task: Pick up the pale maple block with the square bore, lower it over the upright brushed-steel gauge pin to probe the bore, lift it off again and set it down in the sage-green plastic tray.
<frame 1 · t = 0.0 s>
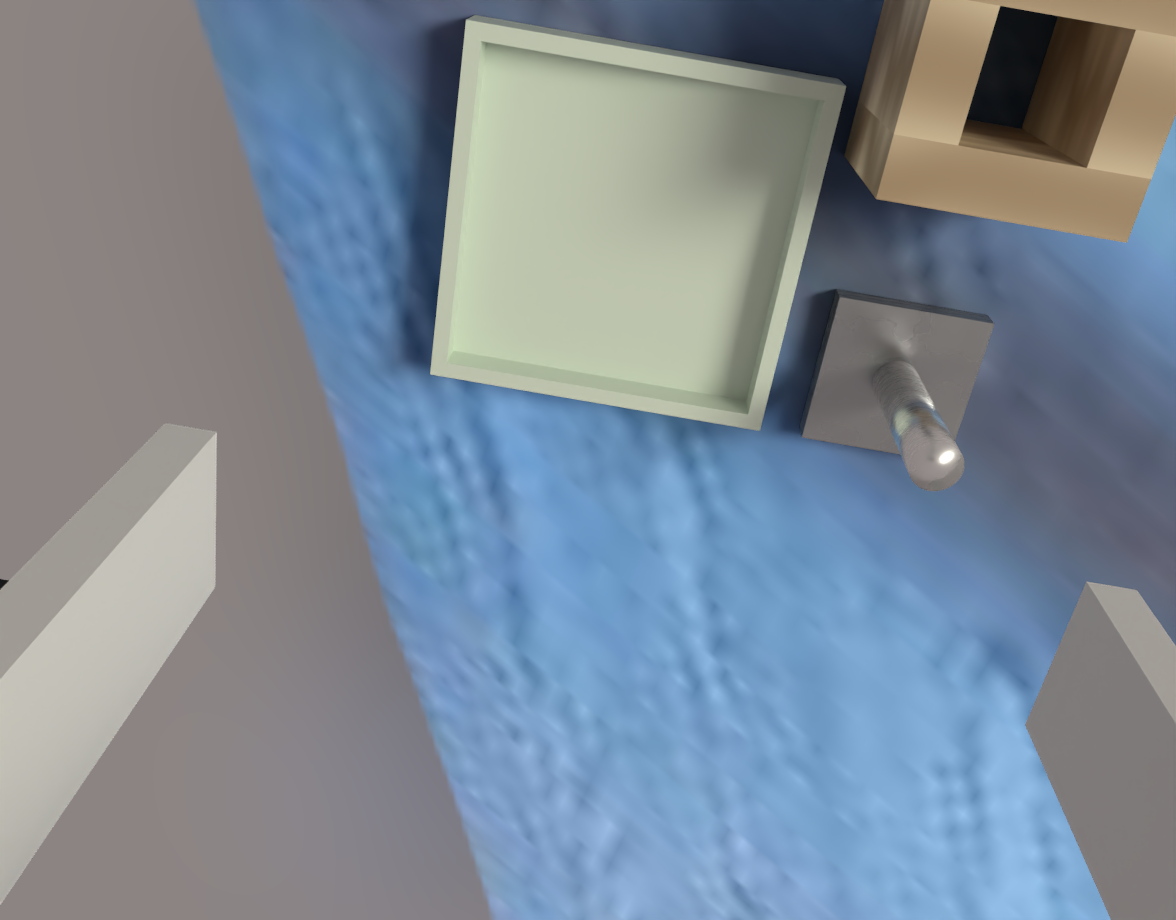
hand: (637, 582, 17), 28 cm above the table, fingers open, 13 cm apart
gauge post: (890, 372, 45), on the table
tray: (625, 226, 43), on the table
bored block: (984, 61, 39), on the table
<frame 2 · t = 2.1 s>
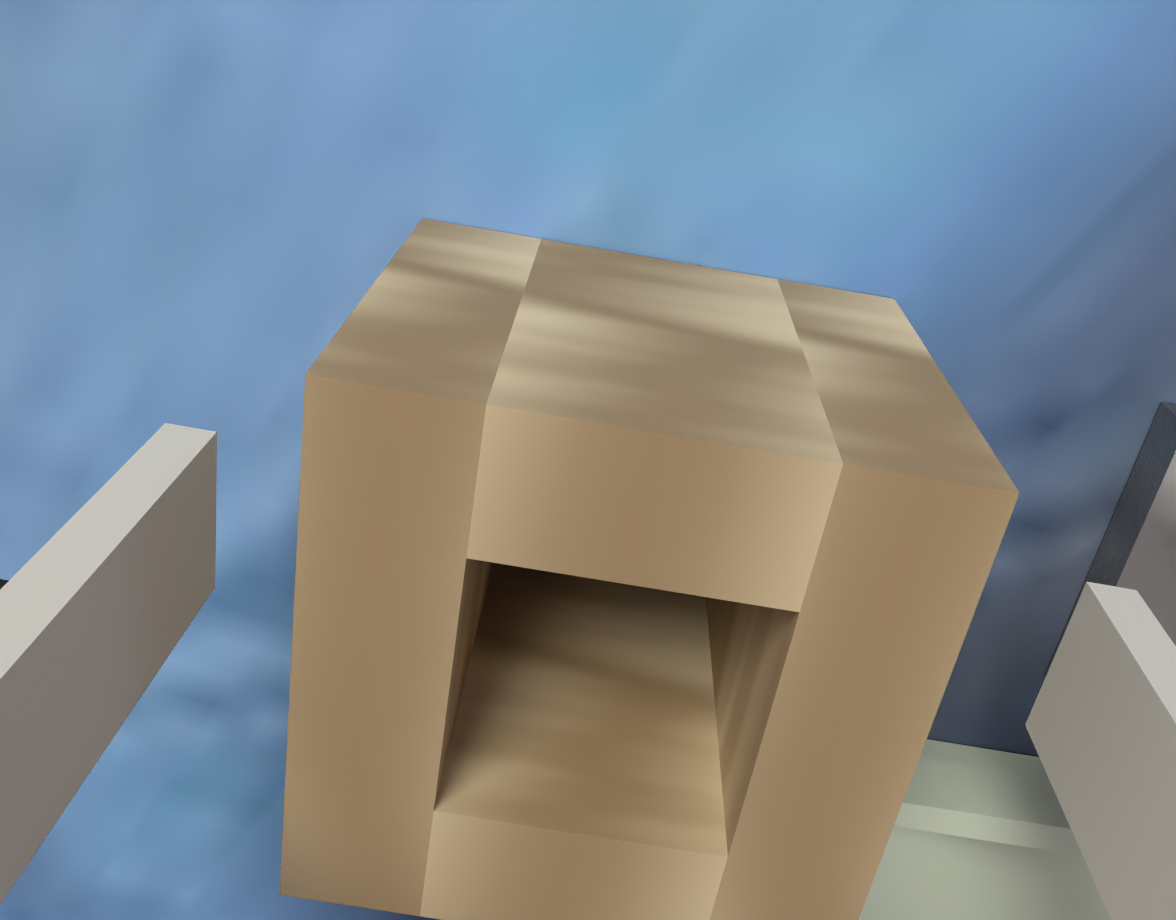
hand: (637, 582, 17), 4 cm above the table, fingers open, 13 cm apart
bored block: (618, 469, 20), on the table
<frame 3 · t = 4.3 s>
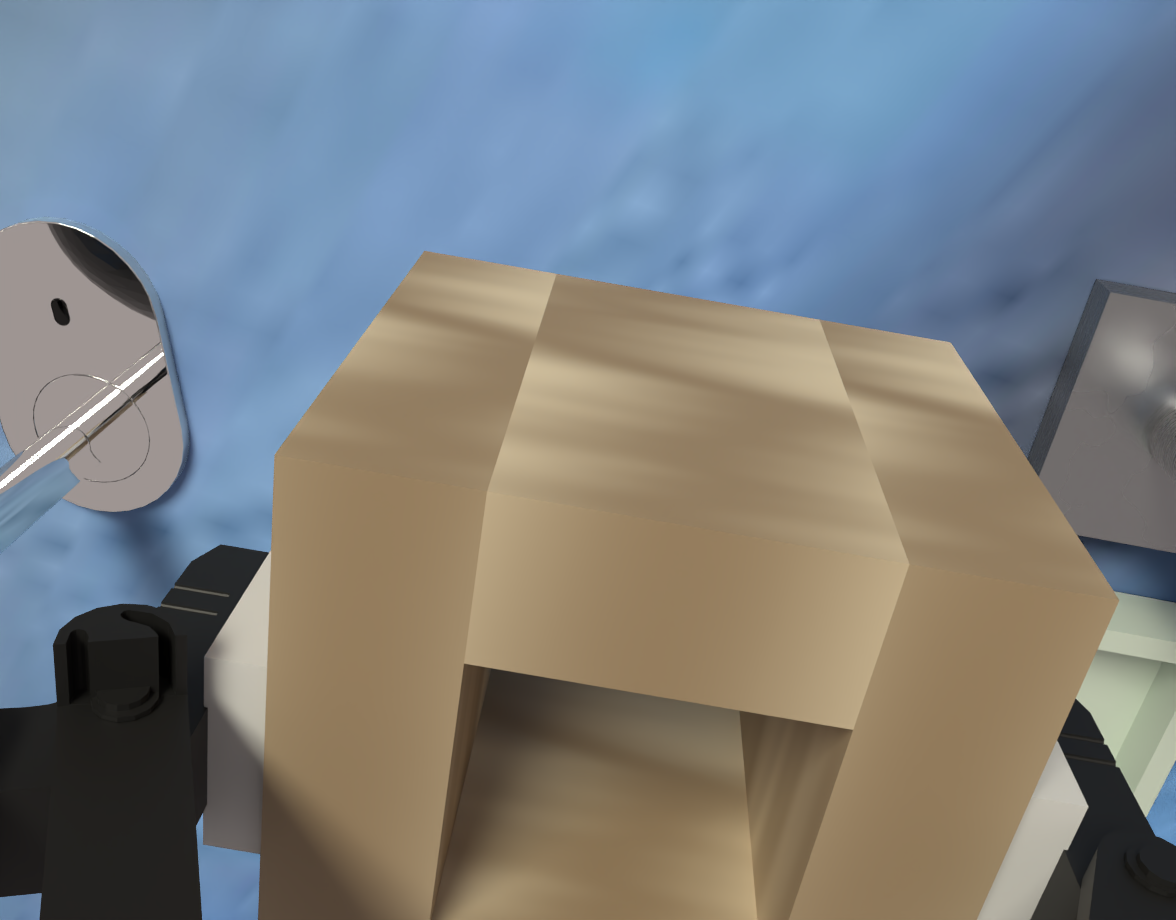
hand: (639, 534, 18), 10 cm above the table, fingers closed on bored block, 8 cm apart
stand: (90, 365, 29), on the table
gauge post: (1174, 420, 27), on the table
tray: (878, 753, 32), on the table
bored block: (640, 525, 18), point 10 cm above the table, touching gripper
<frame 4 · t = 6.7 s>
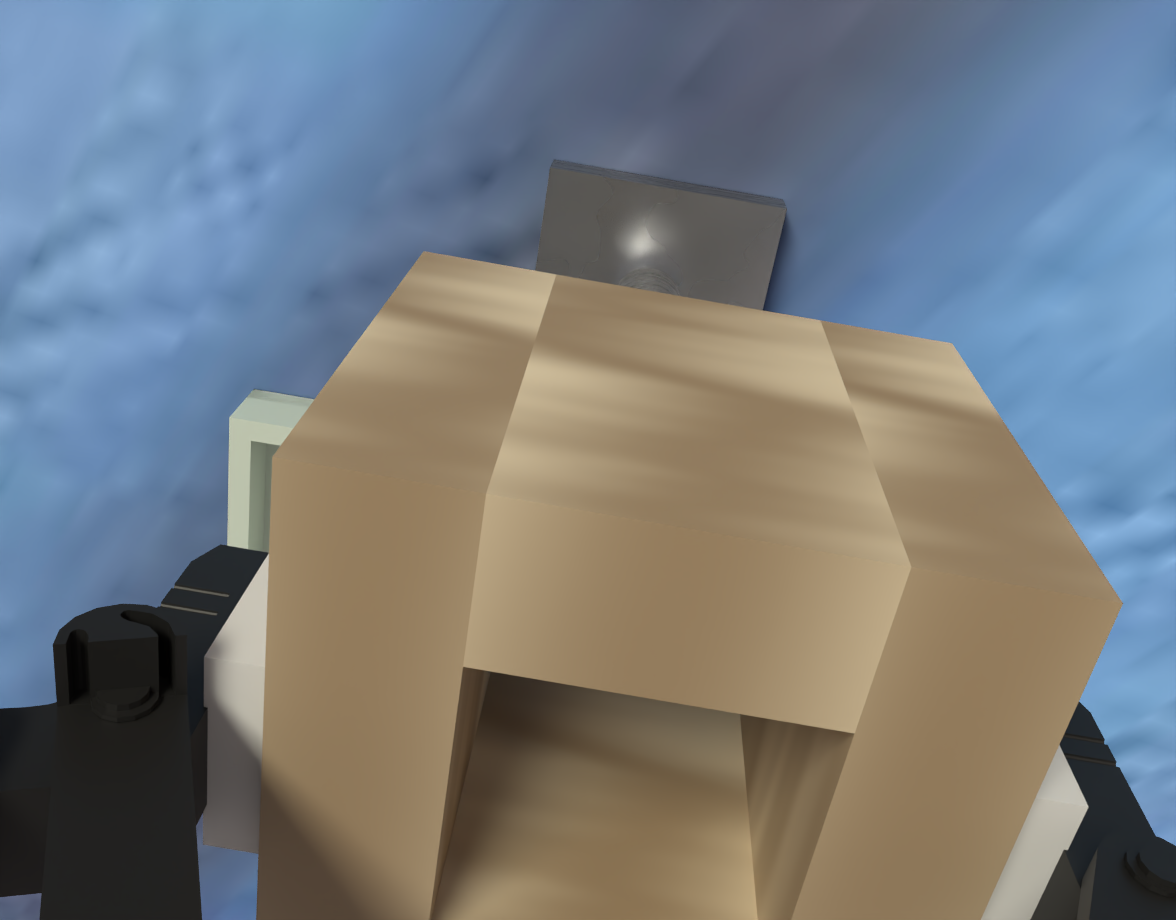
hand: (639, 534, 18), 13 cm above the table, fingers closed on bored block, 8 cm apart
gauge post: (647, 290, 30), on the table
tray: (456, 615, 35), on the table
bored block: (640, 527, 18), point 13 cm above the table, touching gripper
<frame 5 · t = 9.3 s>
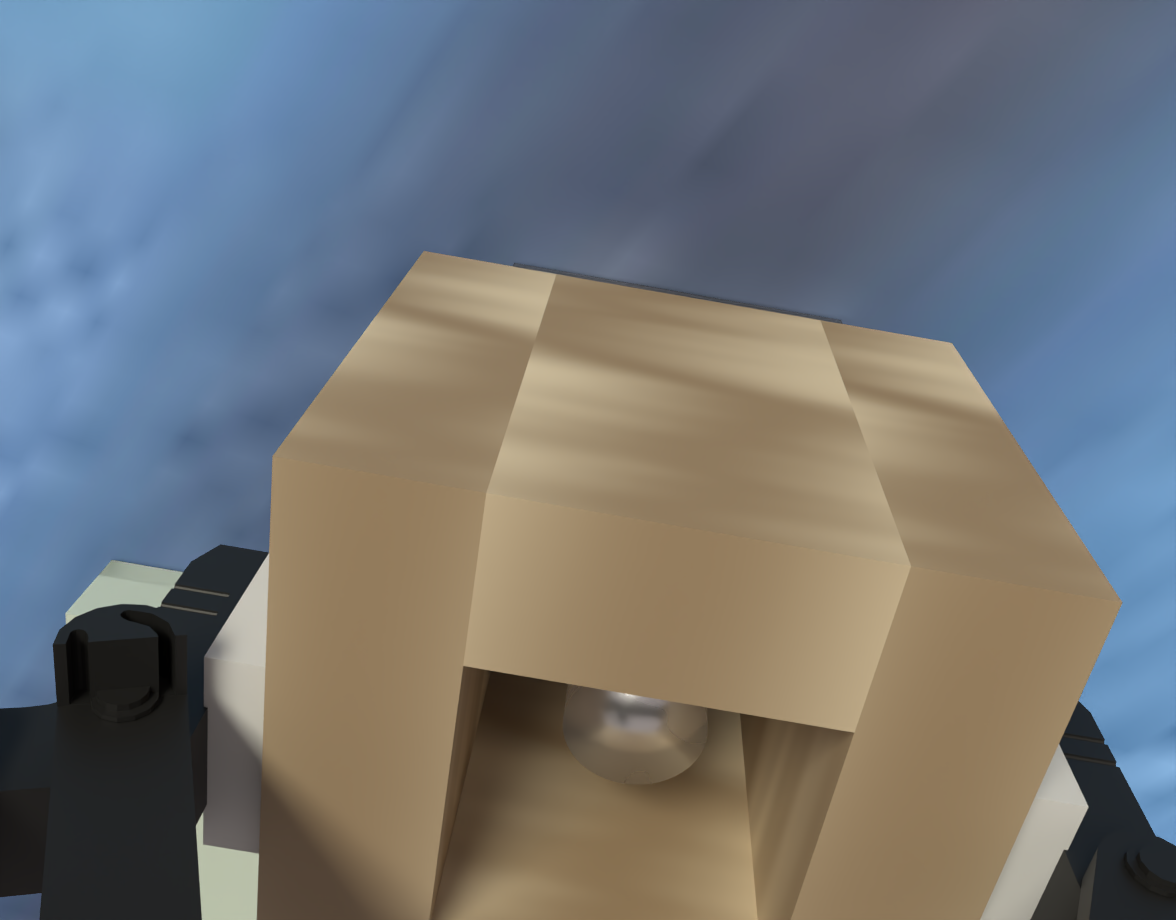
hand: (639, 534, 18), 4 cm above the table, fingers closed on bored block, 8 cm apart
gauge post: (647, 439, 21), on the table
tray: (394, 840, 26), on the table
bored block: (640, 526, 18), point 3 cm above the table, touching gripper
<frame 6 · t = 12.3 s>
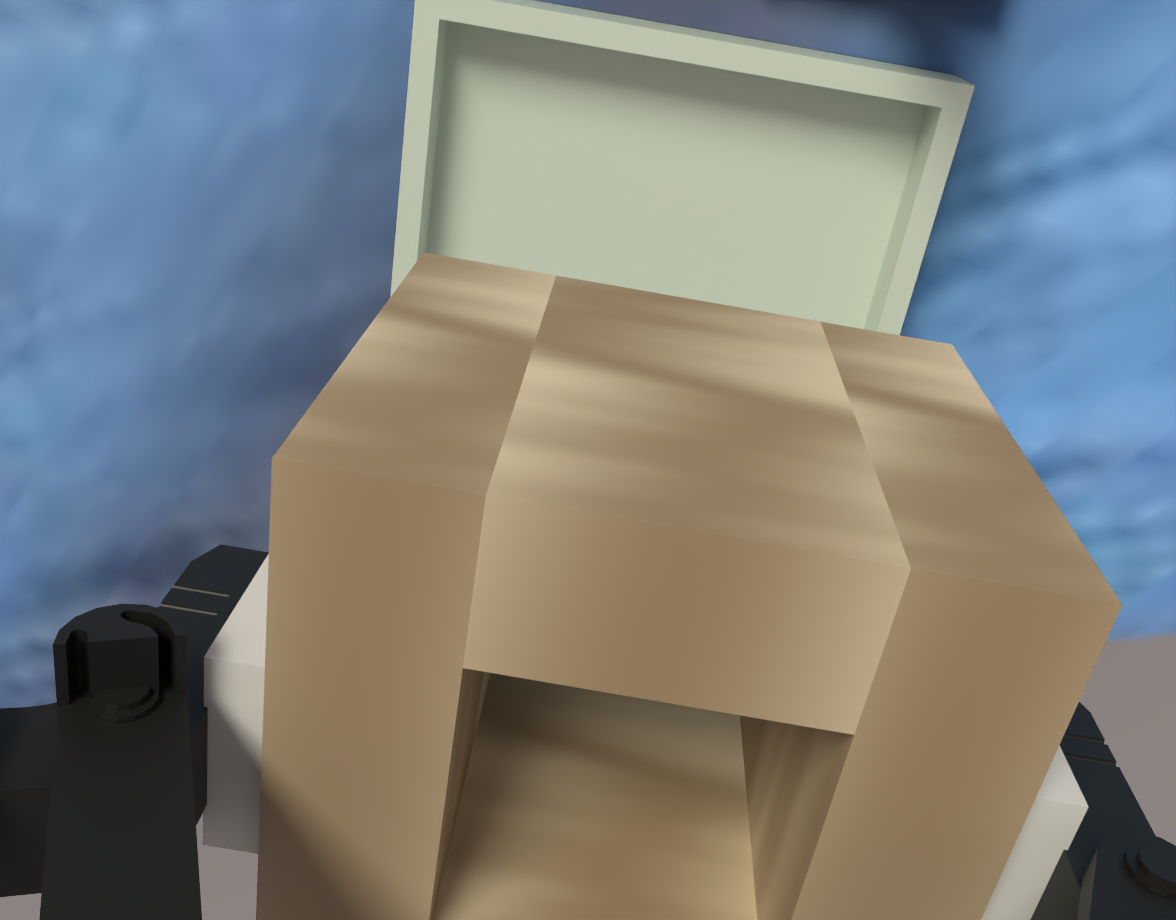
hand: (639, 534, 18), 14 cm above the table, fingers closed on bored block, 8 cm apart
tray: (646, 281, 31), on the table
bored block: (640, 527, 18), point 14 cm above the table, touching gripper
when the fingers open (2 cm above the table, at t = 14.7 s): bored block drops 1 cm, resting on tray.
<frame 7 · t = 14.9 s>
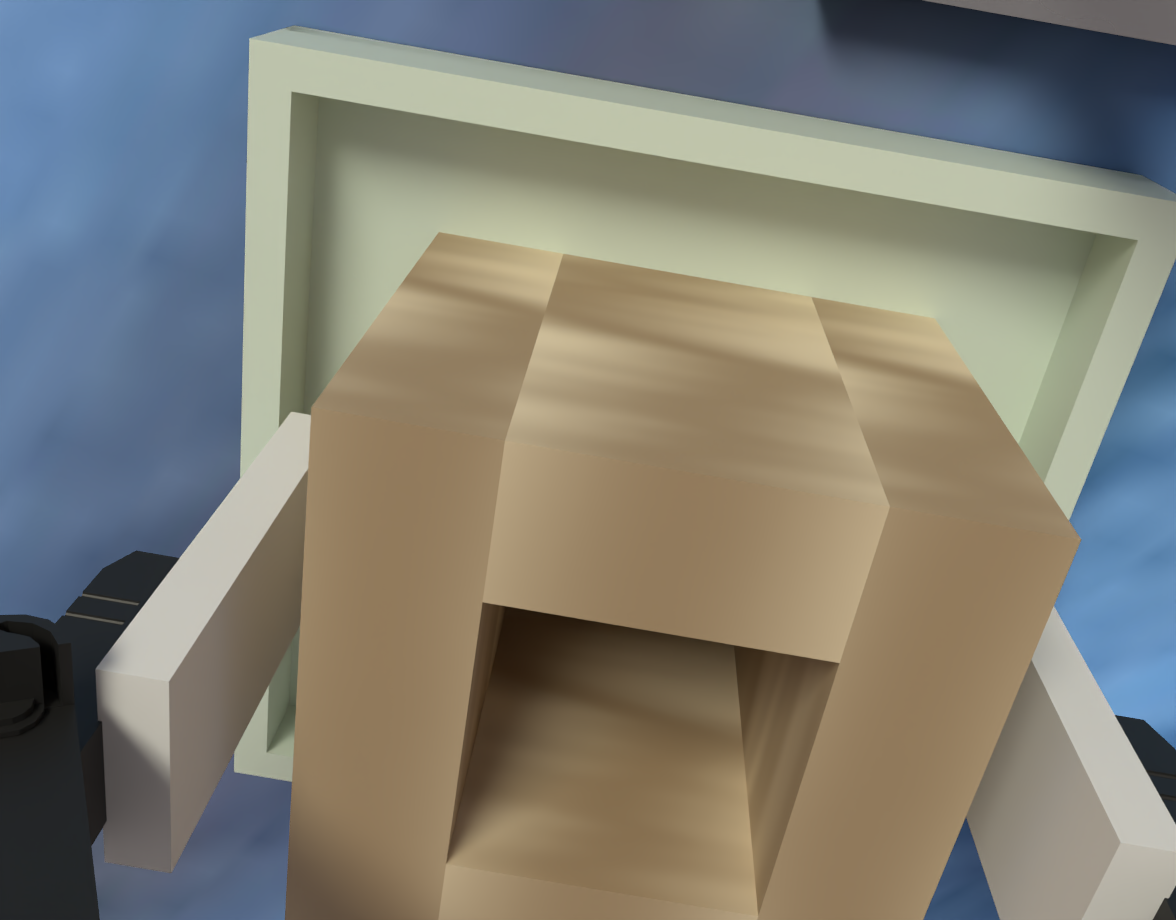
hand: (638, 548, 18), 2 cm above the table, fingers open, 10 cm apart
tray: (642, 477, 20), on the table
bored block: (642, 494, 19), point 1 cm above the table, touching tray
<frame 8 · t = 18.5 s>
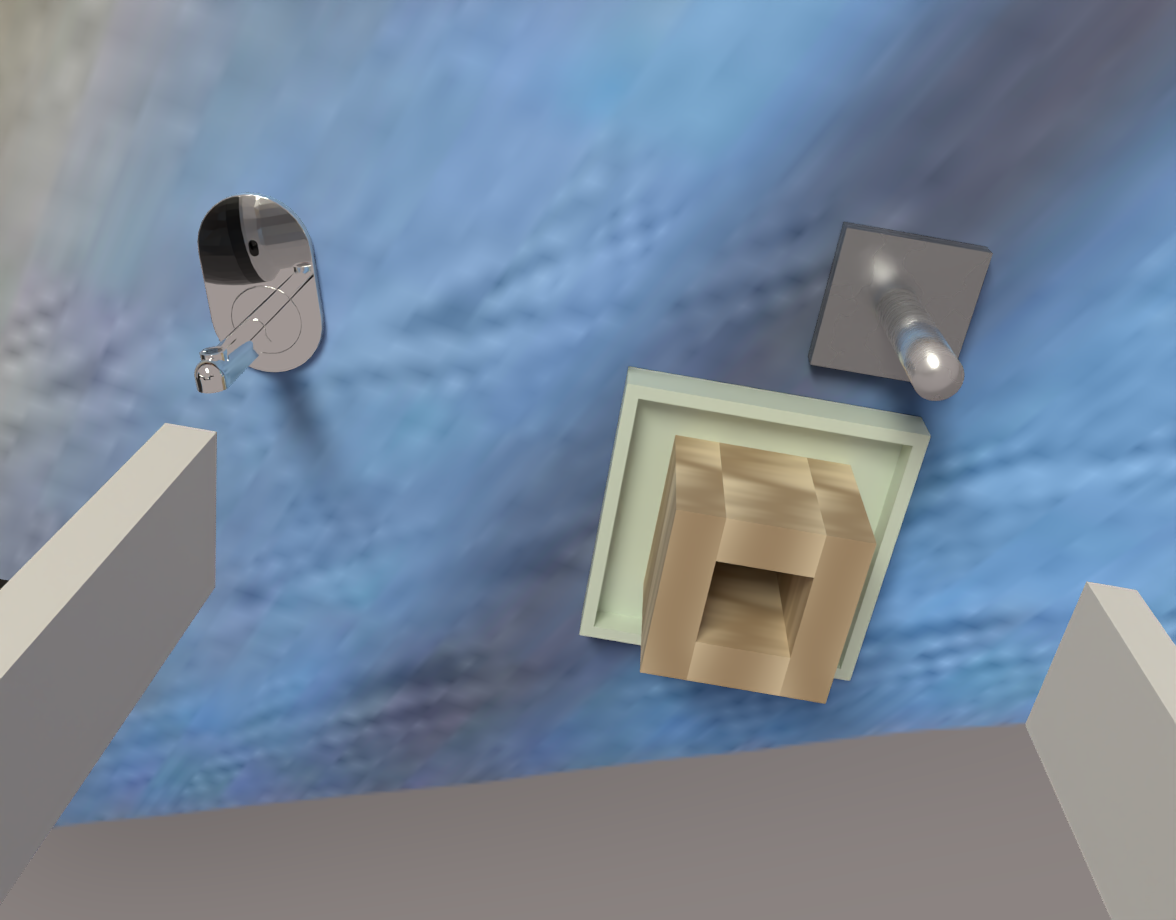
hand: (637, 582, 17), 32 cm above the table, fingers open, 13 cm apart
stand: (265, 282, 49), on the table
gauge post: (894, 302, 47), on the table
tray: (742, 519, 52), on the table
bored block: (743, 526, 52), point 1 cm above the table, touching tray
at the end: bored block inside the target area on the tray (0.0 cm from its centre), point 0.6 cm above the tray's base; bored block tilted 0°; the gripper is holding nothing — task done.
